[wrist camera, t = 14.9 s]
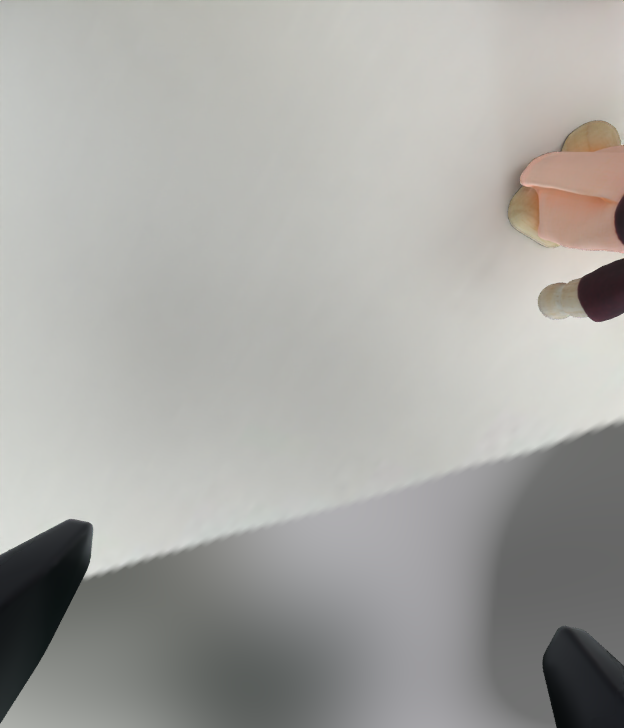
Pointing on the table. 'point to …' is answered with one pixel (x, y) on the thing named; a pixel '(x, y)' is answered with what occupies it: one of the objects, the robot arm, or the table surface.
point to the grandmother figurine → (578, 217)
